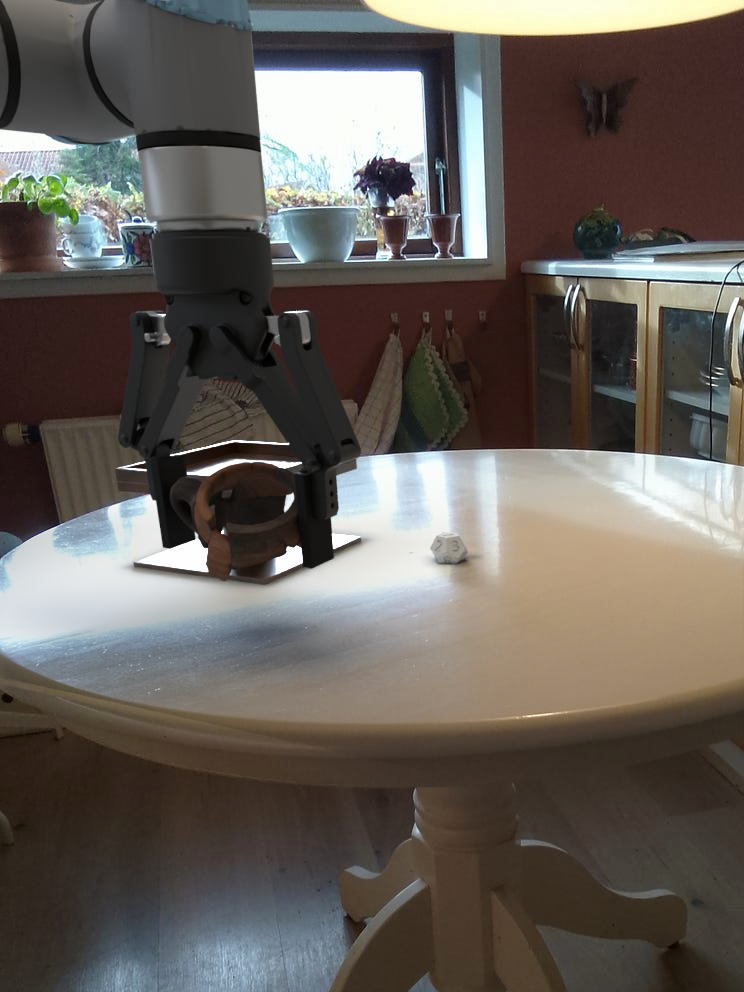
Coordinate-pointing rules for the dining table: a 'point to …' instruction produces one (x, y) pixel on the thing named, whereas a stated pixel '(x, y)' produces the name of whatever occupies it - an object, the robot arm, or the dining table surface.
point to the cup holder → (203, 465)
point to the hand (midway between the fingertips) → (246, 553)
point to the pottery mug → (239, 514)
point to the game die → (448, 548)
